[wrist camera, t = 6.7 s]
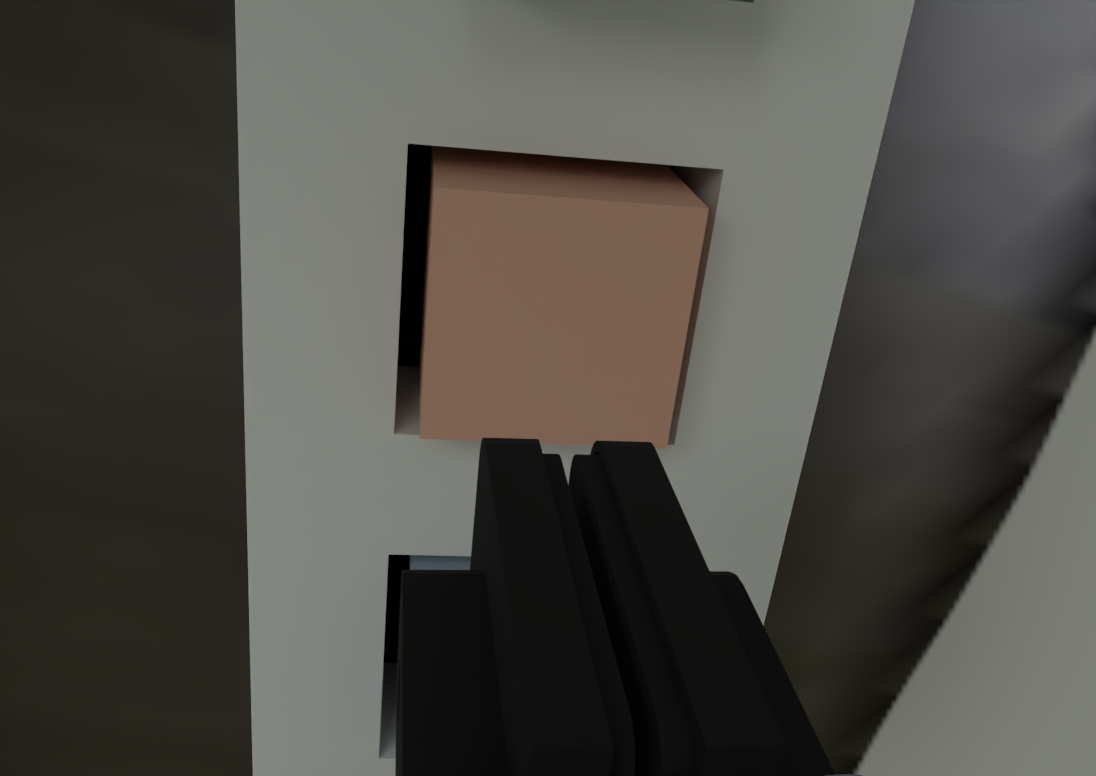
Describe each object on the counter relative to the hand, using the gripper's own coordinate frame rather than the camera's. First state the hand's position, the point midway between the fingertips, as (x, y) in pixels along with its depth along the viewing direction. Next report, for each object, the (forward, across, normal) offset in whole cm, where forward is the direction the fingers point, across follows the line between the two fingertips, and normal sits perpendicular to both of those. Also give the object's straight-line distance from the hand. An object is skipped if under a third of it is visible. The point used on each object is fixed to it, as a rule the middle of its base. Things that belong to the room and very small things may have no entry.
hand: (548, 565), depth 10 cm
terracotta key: (+13, -2, +1) cm, 13 cm away
